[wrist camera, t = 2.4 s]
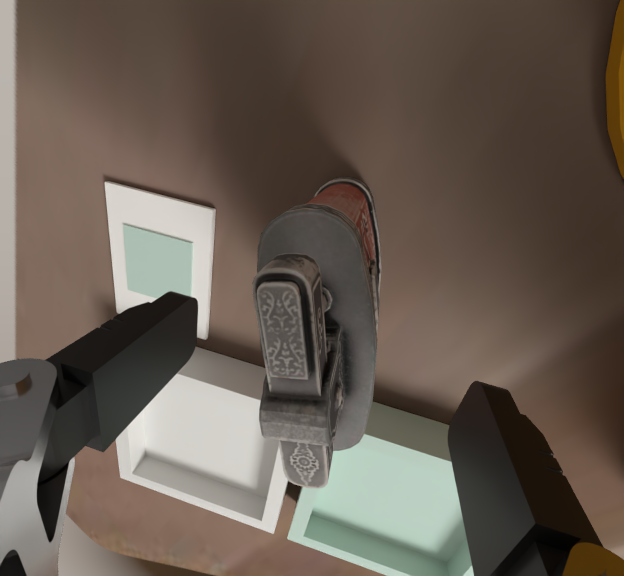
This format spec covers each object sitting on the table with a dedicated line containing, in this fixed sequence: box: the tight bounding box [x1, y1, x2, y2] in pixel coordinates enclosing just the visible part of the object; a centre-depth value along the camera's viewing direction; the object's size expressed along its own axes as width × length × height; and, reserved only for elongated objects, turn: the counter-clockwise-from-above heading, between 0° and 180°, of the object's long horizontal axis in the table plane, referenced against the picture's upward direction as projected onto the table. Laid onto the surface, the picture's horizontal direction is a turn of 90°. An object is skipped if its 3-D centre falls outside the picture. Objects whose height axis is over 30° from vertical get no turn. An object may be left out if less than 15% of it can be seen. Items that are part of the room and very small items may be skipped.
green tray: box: [287, 401, 474, 576], centre depth 20 cm, size 12×12×2 cm
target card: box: [105, 181, 216, 340], centre depth 18 cm, size 8×6×1 cm
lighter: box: [252, 177, 382, 488], centre depth 11 cm, size 8×3×10 cm, turn 5°
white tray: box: [116, 347, 289, 534], centre depth 22 cm, size 12×12×2 cm
